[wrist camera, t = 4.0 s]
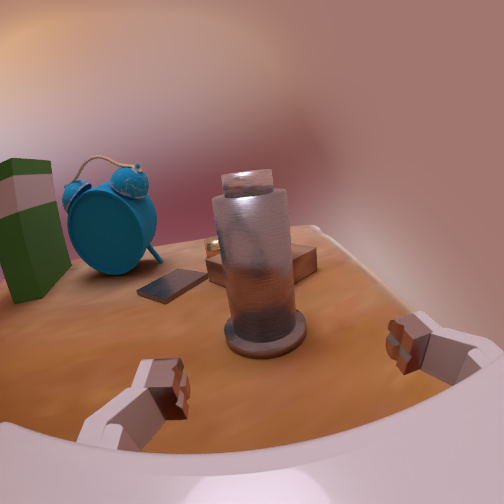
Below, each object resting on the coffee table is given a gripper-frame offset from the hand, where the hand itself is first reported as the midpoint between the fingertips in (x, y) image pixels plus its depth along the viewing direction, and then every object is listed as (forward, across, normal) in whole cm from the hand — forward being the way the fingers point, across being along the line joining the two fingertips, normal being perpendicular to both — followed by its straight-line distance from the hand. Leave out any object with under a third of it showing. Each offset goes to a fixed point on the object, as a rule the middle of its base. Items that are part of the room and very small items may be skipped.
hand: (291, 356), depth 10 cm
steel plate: (+25, +11, +8) cm, 29 cm away
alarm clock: (+35, +22, +7) cm, 41 cm away
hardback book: (+34, +41, +7) cm, 54 cm away
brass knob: (+35, +5, +7) cm, 36 cm away
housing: (+12, 0, +7) cm, 14 cm away
